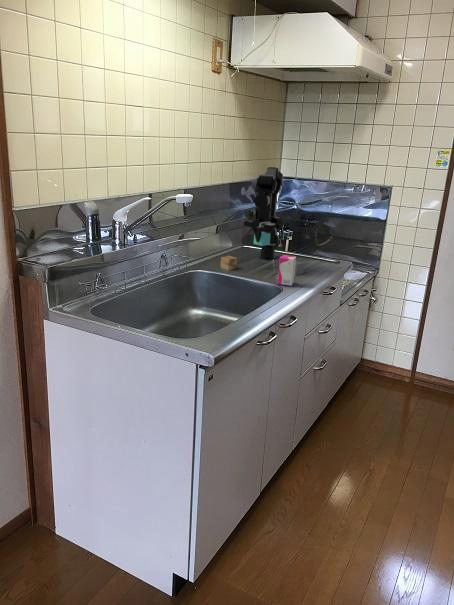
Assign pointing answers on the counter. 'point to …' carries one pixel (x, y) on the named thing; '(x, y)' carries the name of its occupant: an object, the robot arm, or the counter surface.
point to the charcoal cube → (299, 268)
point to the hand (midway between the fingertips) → (261, 241)
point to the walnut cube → (228, 263)
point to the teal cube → (263, 239)
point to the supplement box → (286, 270)
